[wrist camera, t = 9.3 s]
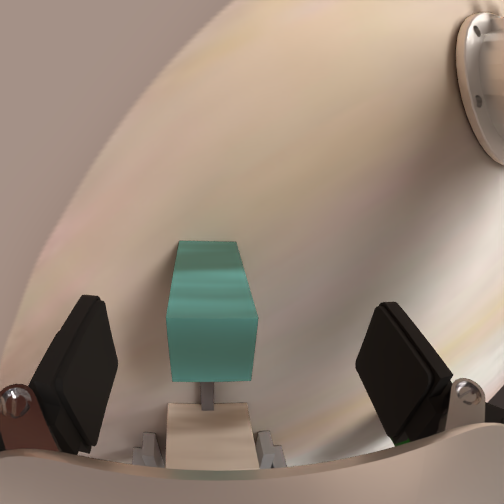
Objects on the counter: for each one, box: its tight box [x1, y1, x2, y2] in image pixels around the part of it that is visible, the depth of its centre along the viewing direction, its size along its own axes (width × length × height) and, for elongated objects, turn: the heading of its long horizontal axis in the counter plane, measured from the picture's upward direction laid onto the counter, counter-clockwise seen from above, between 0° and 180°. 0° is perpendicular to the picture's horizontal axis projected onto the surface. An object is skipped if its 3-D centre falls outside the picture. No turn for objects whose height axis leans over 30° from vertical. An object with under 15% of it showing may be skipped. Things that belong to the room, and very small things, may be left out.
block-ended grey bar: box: [166, 241, 260, 471], centre depth 16 cm, size 19×6×7 cm, turn 175°
